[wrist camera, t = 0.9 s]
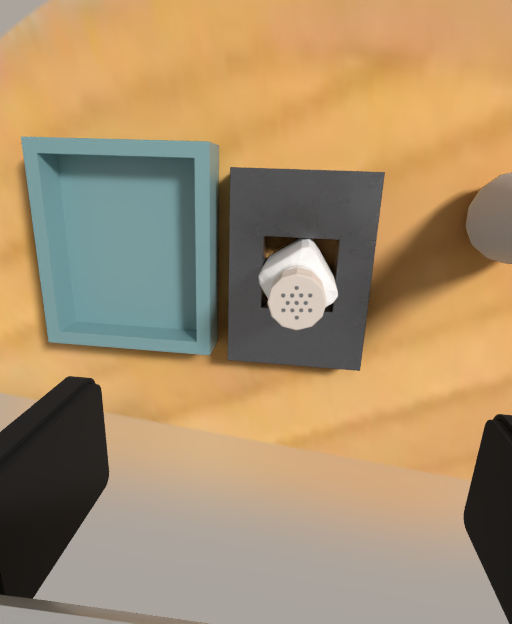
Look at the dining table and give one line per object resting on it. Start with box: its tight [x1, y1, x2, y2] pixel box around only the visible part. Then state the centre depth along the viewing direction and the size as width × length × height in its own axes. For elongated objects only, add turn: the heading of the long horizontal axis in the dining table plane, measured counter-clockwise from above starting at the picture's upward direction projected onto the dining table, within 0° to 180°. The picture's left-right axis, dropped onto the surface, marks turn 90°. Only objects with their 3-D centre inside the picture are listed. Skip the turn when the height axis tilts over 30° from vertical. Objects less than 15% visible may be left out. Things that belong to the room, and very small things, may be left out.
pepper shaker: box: [259, 238, 338, 330], centre depth 26 cm, size 4×4×10 cm
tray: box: [21, 137, 219, 355], centre depth 30 cm, size 13×15×3 cm
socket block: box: [228, 167, 385, 371], centre depth 30 cm, size 10×14×2 cm
